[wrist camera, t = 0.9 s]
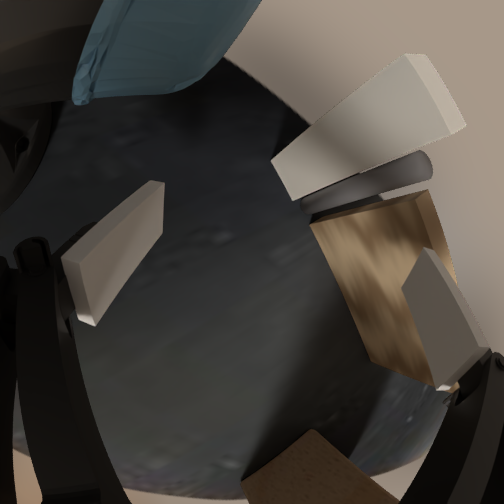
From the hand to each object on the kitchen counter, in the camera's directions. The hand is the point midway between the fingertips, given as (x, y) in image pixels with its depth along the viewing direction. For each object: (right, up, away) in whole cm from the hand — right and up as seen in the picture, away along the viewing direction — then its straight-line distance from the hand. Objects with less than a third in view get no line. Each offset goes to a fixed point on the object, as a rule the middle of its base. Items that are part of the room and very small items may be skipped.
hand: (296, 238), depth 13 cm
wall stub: (+1, +6, +11) cm, 13 cm away
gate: (+8, -5, +13) cm, 16 cm away
